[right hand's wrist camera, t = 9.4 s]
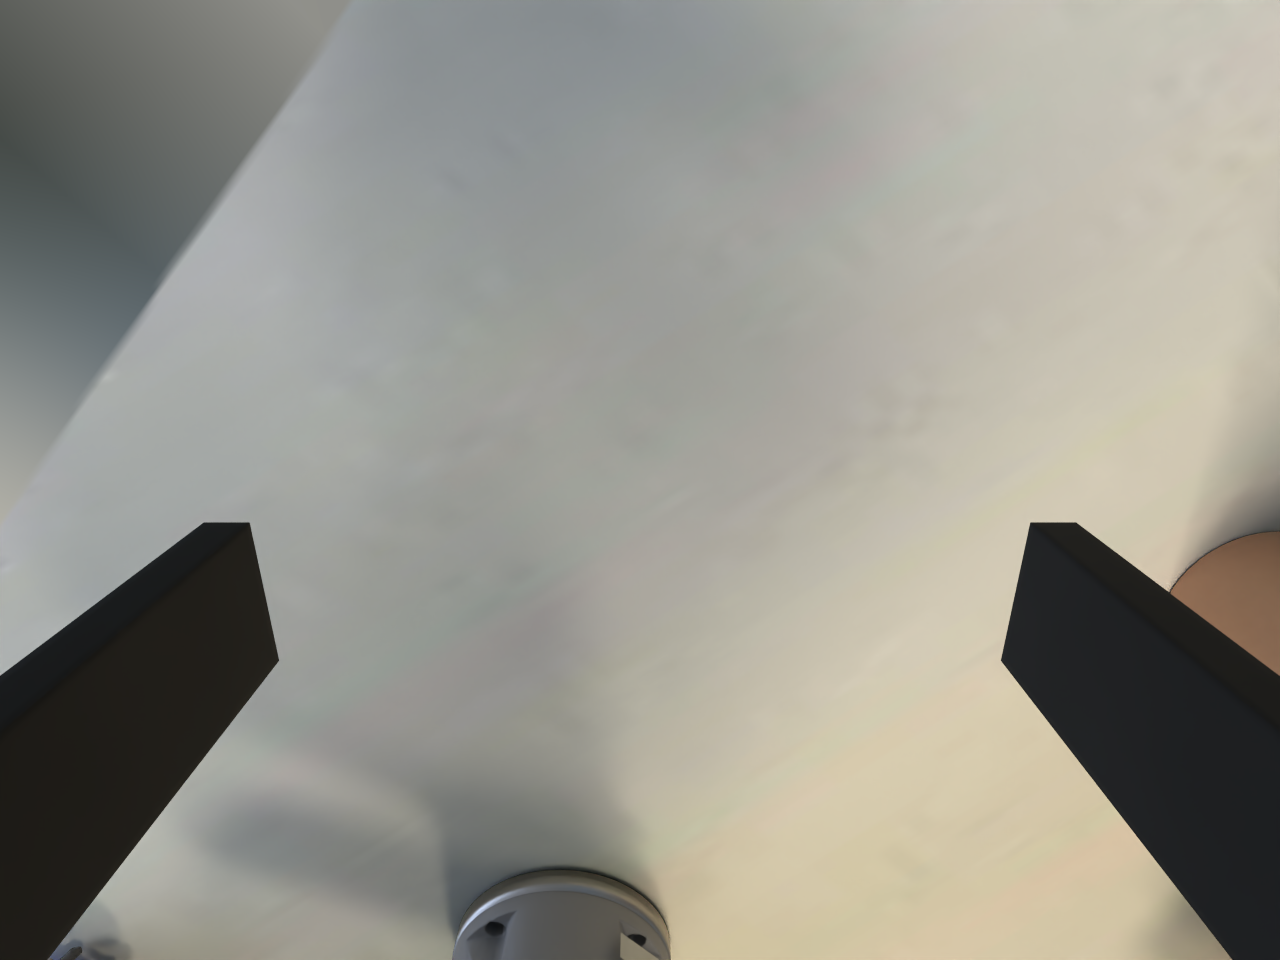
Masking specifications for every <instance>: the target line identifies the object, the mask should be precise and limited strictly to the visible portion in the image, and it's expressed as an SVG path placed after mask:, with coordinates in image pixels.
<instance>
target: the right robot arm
mask: <svg viewBox="0 0 1280 960" xmlns="http://www.w3.org/2000/svg"><path fill="white" fill-rule="evenodd" d="M278 661H279V658H278V654H277V649H276V644H275V639H274V635H273V630H272V625H271V621H270V616H269V611H268V607H267V602H266V597H265V593H264V588H263V583H262V579H261V574H260V569H259V564H258V560H257V555H256V550H255V546H254V541H253V536H252V532H251V527H250V523H203V524H201V525H200V526H199V527H197V528H196V529H195V530H193V531H192V532H191V533H189V534H188V535H187V536H185V537H184V538H183V539H181V540H180V541H179V542H177V543H176V544H175V545H174V546H172V547H171V548H170V549H168V550H167V551H166V552H164V553H163V554H162V555H160V556H159V557H158V558H156V559H155V560H154V561H152V562H151V563H150V564H148V565H147V566H146V567H144V568H143V569H142V570H140V571H139V572H138V573H136V574H135V575H134V576H132V577H131V578H130V579H128V580H127V581H126V582H124V583H123V584H122V585H120V586H119V587H118V588H116V589H115V590H114V591H112V592H111V593H110V594H108V595H107V596H106V597H104V598H103V599H102V600H100V601H99V602H98V603H96V604H95V605H94V606H92V607H91V608H90V609H88V610H87V611H86V612H84V613H83V614H82V615H80V616H79V617H78V618H76V619H75V620H74V621H72V622H71V623H70V624H69V625H67V626H66V627H65V628H63V629H62V630H61V631H59V632H58V633H57V634H55V635H54V636H53V637H51V638H50V639H49V640H47V641H46V642H45V643H43V644H42V645H41V646H39V647H38V648H37V649H35V650H34V651H33V652H31V653H30V654H29V655H27V656H26V657H25V658H23V659H22V660H21V661H19V662H18V663H17V664H15V665H14V666H13V667H11V668H10V669H9V670H7V671H6V672H5V673H3V674H2V675H1V676H0V960H48V958H49V957H50V956H51V954H52V953H53V952H54V951H55V949H56V948H57V947H58V945H59V944H60V943H61V941H62V940H63V939H64V938H65V936H66V935H67V934H68V932H69V931H70V930H71V929H72V927H73V926H74V925H75V923H76V922H77V921H78V920H79V918H80V917H81V916H82V914H83V913H84V912H85V910H86V909H87V908H88V907H89V905H90V904H91V903H92V901H93V900H94V899H95V898H96V896H97V895H98V894H99V892H100V891H101V890H102V889H103V887H104V886H105V885H106V883H107V882H108V881H109V879H110V878H111V877H112V876H113V874H114V873H115V872H116V870H117V869H118V868H119V867H120V865H121V864H122V863H123V861H124V860H125V859H126V858H127V856H128V855H129V854H130V852H131V851H132V850H133V849H134V847H135V846H136V845H137V843H138V842H139V841H140V839H141V838H142V837H143V836H144V834H145V833H146V832H147V830H148V829H149V828H150V827H151V825H152V824H153V823H154V821H155V820H156V819H157V818H158V816H159V815H160V814H161V812H162V811H163V810H164V808H165V807H166V806H167V805H168V803H169V802H170V801H171V799H172V798H173V797H174V796H175V794H176V793H177V792H178V790H179V789H180V788H181V787H182V785H183V784H184V783H185V781H186V780H187V779H188V777H189V776H190V775H191V774H192V772H193V771H194V770H195V768H196V767H197V766H198V765H199V763H200V762H201V761H202V759H203V758H204V757H205V756H206V754H207V753H208V752H209V750H210V749H211V748H212V747H213V745H214V744H215V743H216V741H217V740H218V739H219V737H220V736H221V735H222V734H223V732H224V731H225V730H226V728H227V727H228V726H229V725H230V723H231V722H232V721H233V719H234V718H235V717H236V716H237V714H238V713H239V712H240V710H241V709H242V708H243V706H244V705H245V704H246V703H247V701H248V700H249V699H250V697H251V696H252V695H253V694H254V692H255V691H256V690H257V688H258V687H259V686H260V685H261V683H262V682H263V681H264V679H265V678H266V677H267V675H268V674H269V673H270V672H271V670H272V669H273V668H274V666H275V665H276V664H277V663H278ZM1001 661H1002V663H1003V664H1004V665H1005V666H1006V668H1007V669H1008V670H1009V672H1010V673H1011V674H1012V675H1013V677H1014V678H1015V679H1016V681H1017V682H1018V683H1019V685H1020V686H1021V687H1022V688H1023V690H1024V691H1025V692H1026V694H1027V695H1028V696H1029V697H1030V699H1031V700H1032V701H1033V703H1034V704H1035V705H1036V706H1037V708H1038V709H1039V710H1040V712H1041V713H1042V714H1043V716H1044V717H1045V718H1046V719H1047V721H1048V722H1049V723H1050V725H1051V726H1052V727H1053V728H1054V730H1055V731H1056V732H1057V734H1058V735H1059V736H1060V737H1061V739H1062V740H1063V741H1064V743H1065V744H1066V745H1067V747H1068V748H1069V749H1070V750H1071V752H1072V753H1073V754H1074V756H1075V757H1076V758H1077V759H1078V761H1079V762H1080V763H1081V765H1082V766H1083V767H1084V768H1085V770H1086V771H1087V772H1088V774H1089V775H1090V776H1091V777H1092V779H1093V780H1094V781H1095V783H1096V784H1097V785H1098V787H1099V788H1100V789H1101V790H1102V792H1103V793H1104V794H1105V796H1106V797H1107V798H1108V799H1109V801H1110V802H1111V803H1112V805H1113V806H1114V807H1115V808H1116V810H1117V811H1118V812H1119V814H1120V815H1121V816H1122V818H1123V819H1124V820H1125V821H1126V823H1127V824H1128V825H1129V827H1130V828H1131V829H1132V830H1133V832H1134V833H1135V834H1136V836H1137V837H1138V838H1139V839H1140V841H1141V842H1142V843H1143V845H1144V846H1145V847H1146V849H1147V850H1148V851H1149V852H1150V854H1151V855H1152V856H1153V858H1154V859H1155V860H1156V861H1157V863H1158V864H1159V865H1160V867H1161V868H1162V869H1163V870H1164V872H1165V873H1166V874H1167V876H1168V877H1169V878H1170V879H1171V881H1172V882H1173V883H1174V885H1175V886H1176V887H1177V889H1178V890H1179V891H1180V892H1181V894H1182V895H1183V896H1184V898H1185V899H1186V900H1187V901H1188V903H1189V904H1190V905H1191V907H1192V908H1193V909H1194V910H1195V912H1196V913H1197V914H1198V916H1199V917H1200V918H1201V920H1202V921H1203V922H1204V923H1205V925H1206V926H1207V927H1208V929H1209V930H1210V931H1211V932H1212V934H1213V935H1214V936H1215V938H1216V939H1217V940H1218V941H1219V943H1220V944H1221V945H1222V947H1223V948H1224V949H1225V951H1226V952H1227V953H1228V954H1229V956H1230V957H1231V958H1232V960H1280V676H1279V675H1278V674H1277V673H1275V672H1274V671H1273V670H1271V669H1270V668H1269V667H1267V666H1266V665H1265V664H1263V663H1262V662H1261V661H1259V660H1258V659H1257V658H1255V657H1254V656H1253V655H1251V654H1250V653H1249V652H1247V651H1246V650H1245V649H1243V648H1242V647H1241V646H1239V645H1238V644H1237V643H1235V642H1234V641H1233V640H1231V639H1230V638H1229V637H1227V636H1226V635H1225V634H1223V633H1222V632H1221V631H1219V630H1218V629H1217V628H1215V627H1214V626H1213V625H1211V624H1210V623H1209V622H1208V621H1206V620H1205V619H1204V618H1202V617H1201V616H1200V615H1198V614H1197V613H1196V612H1194V611H1193V610H1192V609H1190V608H1189V607H1188V606H1186V605H1185V604H1184V603H1182V602H1181V601H1180V600H1178V599H1177V598H1176V597H1174V596H1173V595H1172V594H1170V593H1169V592H1168V591H1166V590H1165V589H1164V588H1162V587H1161V586H1160V585H1158V584H1157V583H1156V582H1154V581H1153V580H1152V579H1150V578H1149V577H1148V576H1146V575H1145V574H1144V573H1142V572H1141V571H1140V570H1138V569H1137V568H1136V567H1134V566H1133V565H1132V564H1130V563H1129V562H1128V561H1126V560H1125V559H1124V558H1122V557H1121V556H1120V555H1118V554H1117V553H1116V552H1114V551H1113V550H1112V549H1110V548H1109V547H1108V546H1106V545H1105V544H1104V543H1103V542H1101V541H1100V540H1099V539H1097V538H1096V537H1095V536H1093V535H1092V534H1091V533H1089V532H1088V531H1087V530H1085V529H1084V528H1083V527H1081V526H1080V525H1079V524H1077V523H1030V527H1029V532H1028V536H1027V541H1026V546H1025V550H1024V555H1023V560H1022V565H1021V569H1020V574H1019V579H1018V583H1017V588H1016V593H1015V597H1014V602H1013V607H1012V611H1011V616H1010V621H1009V625H1008V630H1007V635H1006V639H1005V644H1004V649H1003V654H1002V658H1001ZM452 960H671V956H670V939H669V934H668V930H667V927H666V925H665V923H664V921H663V919H662V917H661V916H660V914H659V913H658V912H657V910H656V909H655V908H654V907H653V906H652V905H651V904H650V903H649V901H648V900H646V899H645V898H644V897H643V896H641V895H640V894H639V893H637V892H636V891H634V890H633V889H631V888H629V887H628V886H626V885H624V884H622V883H620V882H617V881H615V880H612V879H610V878H607V877H604V876H600V875H597V874H593V873H588V872H582V871H574V870H546V871H537V872H531V873H527V874H523V875H519V876H516V877H513V878H510V879H508V880H505V881H503V882H501V883H499V884H497V885H495V886H493V887H492V888H490V889H489V890H487V891H486V892H484V893H483V894H482V895H481V896H479V897H478V898H477V899H476V900H475V901H474V902H473V903H472V904H471V906H470V907H469V908H468V910H467V911H466V913H465V915H464V916H463V919H462V921H461V924H460V927H459V931H458V935H457V939H456V943H455V947H454V951H453V959H452Z"/></svg>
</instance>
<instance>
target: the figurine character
mask: <svg viewBox="0 0 1280 960" xmlns="http://www.w3.org/2000/svg"><path fill="white" fill-rule="evenodd" d="M81 953H82V948H81V947H76V948H72V949H71V950H70V951H69V952H67V953H66V954H65V955H64V956H63V957H62V958H61V959H60V960H74V959H75V958H76V957H77V956H79V955H80V954H81ZM48 960H52V959H51V958H49V959H48Z"/></svg>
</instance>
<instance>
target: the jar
mask: <svg viewBox="0 0 1280 960" xmlns="http://www.w3.org/2000/svg"><path fill="white" fill-rule="evenodd" d="M1170 594H1172V595H1173V596H1174V597H1176V598H1177V599H1178V600H1180V601H1181V602H1182V603H1184V604H1185V605H1186V606H1188V607H1189V608H1190V609H1192V610H1193V611H1194V612H1196V613H1197V614H1198V615H1200V616H1201V617H1202V618H1204V619H1205V620H1206V621H1208V622H1209V623H1210V624H1211V625H1213V626H1214V627H1215V628H1217V629H1218V630H1219V631H1221V632H1222V633H1223V634H1225V635H1226V636H1227V637H1229V638H1230V639H1231V640H1233V641H1234V642H1235V643H1237V644H1238V645H1239V646H1241V647H1242V648H1243V649H1245V650H1246V651H1247V652H1249V653H1250V654H1251V655H1253V656H1254V657H1255V658H1257V659H1258V660H1259V661H1261V662H1262V663H1263V664H1265V665H1266V666H1267V667H1269V668H1270V669H1271V670H1273V671H1274V672H1275V673H1277V674H1278V675H1279V676H1280V532H1264V533H1257V534H1253V535H1249V536H1245V537H1242V538H1239V539H1236V540H1233V541H1231V542H1229V543H1226V544H1224V545H1222V546H1220V547H1218V548H1217V549H1215V550H1213V551H1211V552H1210V553H1208V554H1207V555H1205V556H1204V557H1203V558H1201V559H1200V560H1198V561H1197V562H1196V563H1195V564H1194V565H1193V566H1192V567H1190V568H1189V569H1188V570H1187V571H1186V572H1185V574H1184V575H1183V576H1182V577H1181V578H1180V579H1179V580H1178V582H1177V583H1176V584H1175V586H1174V587H1173V589H1172V590H1171V592H1170Z"/></svg>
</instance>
